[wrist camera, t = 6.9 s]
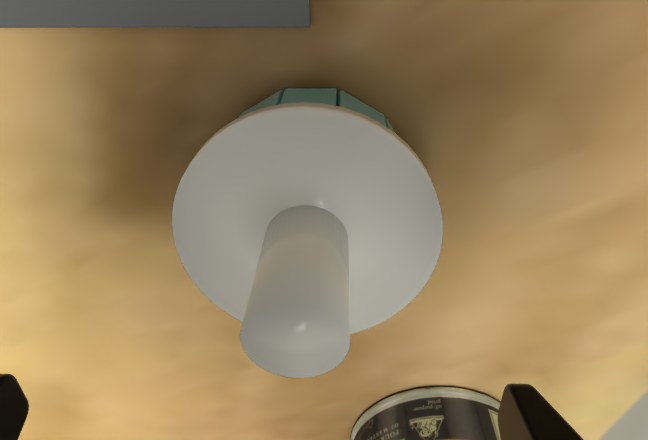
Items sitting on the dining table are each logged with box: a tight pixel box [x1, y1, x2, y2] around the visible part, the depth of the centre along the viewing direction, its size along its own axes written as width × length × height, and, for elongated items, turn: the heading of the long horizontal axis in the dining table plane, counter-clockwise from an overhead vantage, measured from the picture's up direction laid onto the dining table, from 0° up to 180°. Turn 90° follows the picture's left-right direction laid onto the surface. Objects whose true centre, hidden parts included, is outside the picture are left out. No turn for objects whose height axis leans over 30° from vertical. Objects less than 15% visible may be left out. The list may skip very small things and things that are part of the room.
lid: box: [172, 102, 443, 378], centre depth 14 cm, size 9×9×5 cm
